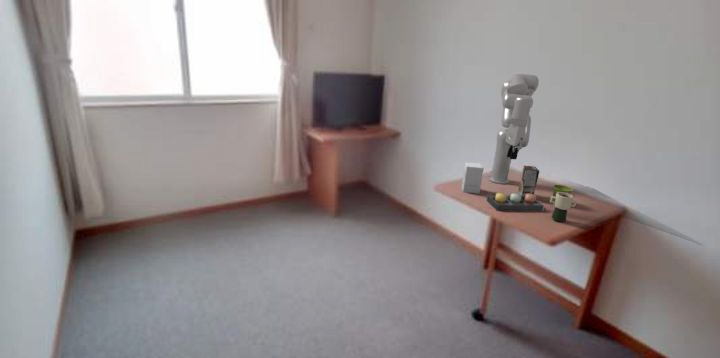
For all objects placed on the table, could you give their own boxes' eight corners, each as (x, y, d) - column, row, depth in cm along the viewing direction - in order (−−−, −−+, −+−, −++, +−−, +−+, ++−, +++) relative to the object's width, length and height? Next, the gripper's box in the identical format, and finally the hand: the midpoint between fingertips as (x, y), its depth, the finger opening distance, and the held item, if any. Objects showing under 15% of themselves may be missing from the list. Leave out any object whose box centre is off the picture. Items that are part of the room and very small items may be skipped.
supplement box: (477, 188, 212) (482, 163, 207) (479, 194, 204) (484, 168, 199) (461, 186, 213) (465, 161, 208) (462, 192, 205) (466, 166, 200)
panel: (486, 200, 195) (487, 195, 194) (529, 201, 198) (530, 196, 197) (497, 210, 184) (498, 205, 183) (542, 211, 187) (543, 205, 186)
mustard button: (493, 200, 191) (494, 192, 190) (502, 200, 192) (503, 193, 190) (497, 204, 186) (498, 196, 185) (506, 204, 187) (508, 196, 186)
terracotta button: (522, 200, 193) (523, 193, 192) (531, 200, 194) (533, 193, 192) (527, 204, 188) (529, 197, 187) (536, 204, 189) (538, 197, 188)
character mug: (569, 219, 179) (576, 194, 175) (572, 225, 173) (579, 199, 168) (544, 214, 182) (551, 190, 178) (546, 220, 176) (553, 195, 171)
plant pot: (556, 206, 194) (560, 190, 191) (545, 199, 202) (548, 184, 200) (572, 206, 195) (576, 190, 192) (560, 199, 204) (564, 184, 201)
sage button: (507, 200, 192) (509, 193, 191) (516, 200, 193) (518, 193, 191) (512, 204, 187) (514, 196, 186) (521, 204, 188) (523, 197, 187)
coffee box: (533, 199, 201) (540, 171, 195) (520, 198, 202) (527, 169, 196) (529, 193, 209) (535, 166, 204) (517, 192, 210) (523, 164, 205)
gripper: (504, 119, 191) (497, 153, 197) (520, 125, 176) (512, 162, 182) (517, 119, 192) (510, 153, 198) (535, 126, 177) (526, 163, 183)
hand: (511, 157), depth 190 cm, fingers open, 2 cm apart
